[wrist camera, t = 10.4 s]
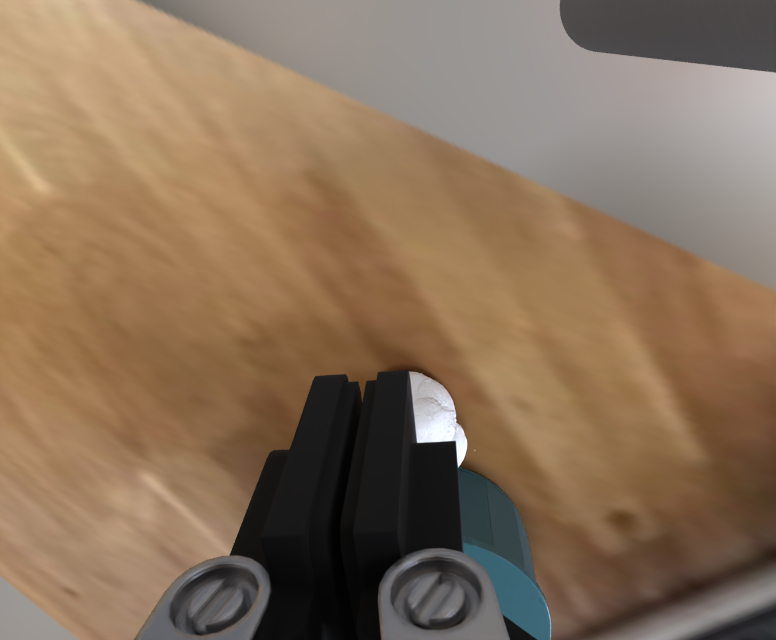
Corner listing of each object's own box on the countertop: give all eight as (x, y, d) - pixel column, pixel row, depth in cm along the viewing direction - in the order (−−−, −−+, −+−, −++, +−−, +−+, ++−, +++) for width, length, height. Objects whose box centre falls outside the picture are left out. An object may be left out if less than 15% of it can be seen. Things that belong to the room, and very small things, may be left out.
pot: (425, 425, 37) (424, 497, 31) (565, 543, 40) (588, 629, 35) (291, 537, 42) (268, 619, 36) (427, 636, 45) (426, 727, 39)
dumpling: (347, 395, 37) (342, 416, 33) (422, 348, 37) (426, 365, 33) (410, 489, 38) (413, 521, 34) (484, 445, 38) (495, 472, 34)
